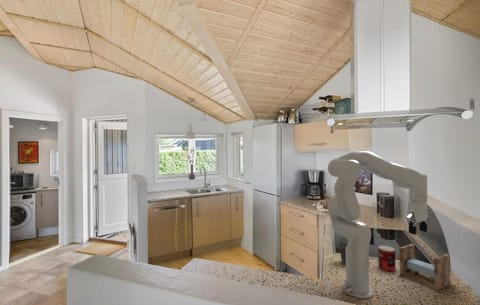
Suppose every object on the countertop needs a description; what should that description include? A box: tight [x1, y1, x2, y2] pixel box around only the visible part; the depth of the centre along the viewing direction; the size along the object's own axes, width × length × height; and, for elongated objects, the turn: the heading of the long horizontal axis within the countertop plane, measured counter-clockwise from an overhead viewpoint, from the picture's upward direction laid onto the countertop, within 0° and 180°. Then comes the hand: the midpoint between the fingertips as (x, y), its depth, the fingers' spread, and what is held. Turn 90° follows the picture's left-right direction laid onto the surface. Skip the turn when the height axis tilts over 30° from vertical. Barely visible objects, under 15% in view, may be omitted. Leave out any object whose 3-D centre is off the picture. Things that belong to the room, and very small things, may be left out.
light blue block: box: [407, 258, 434, 278], centre depth 121 cm, size 12×6×4 cm, turn 28°
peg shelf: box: [398, 243, 451, 292], centre depth 121 cm, size 12×16×14 cm
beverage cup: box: [338, 236, 349, 266], centre depth 140 cm, size 7×7×20 cm
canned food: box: [377, 245, 396, 272], centre depth 133 cm, size 8×8×11 cm
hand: (417, 232), depth 121 cm, fingers open, 9 cm apart
